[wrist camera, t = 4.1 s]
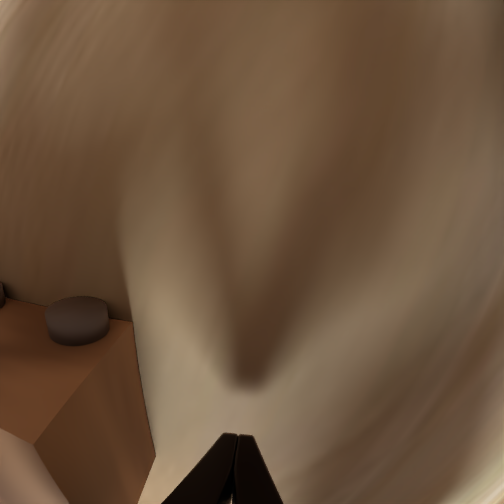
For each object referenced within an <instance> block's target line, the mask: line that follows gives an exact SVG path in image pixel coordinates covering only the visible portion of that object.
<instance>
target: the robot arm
mask: <svg viewBox="0 0 504 504" xmlns="http://www.w3.org/2000/svg"><path fill="white" fill-rule="evenodd" d="M231 499H232V504H283V501H282V499H281V497H280V495H279V493H278V491H277V488H276V486H275V484H274V482H273V480H272V477H271V475H270V473H269V471H268V468H267V466H266V464H265V462H264V459H263V457H262V455H261V452H260V450H259V448H258V445H257V443H256V441H255V438H254V437H253V436H252V435H244V434H240V435H239V436H238V435H237V434H234V433H223V434H222V435H221V436H220V437H219V438H218V440H217V441H216V442H215V443H214V444H213V446H212V447H211V448H210V449H209V450H208V452H207V453H206V454H205V455H204V456H203V458H202V459H201V460H200V461H199V462H198V463H197V465H196V466H195V467H194V468H193V469H192V470H191V471H190V473H189V474H188V475H187V476H186V477H185V478H184V479H183V481H182V482H181V483H180V484H179V485H178V486H177V487H176V488H175V489H174V491H173V492H172V493H171V494H170V495H169V496H168V497H167V498H166V499H165V500H164V501H163V502H162V503H161V504H231Z"/></svg>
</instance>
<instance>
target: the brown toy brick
mask: <svg viewBox="0 0 504 504" xmlns="http://www.w3.org/2000/svg"><path fill="white" fill-rule="evenodd" d="M155 457H156V455H155V451H154V447H153V442H152V438H151V433H150V429H149V424H148V419H147V414H146V409H145V404H144V398H143V393H142V387H141V381H140V375H139V368H138V361H137V354H136V347H135V339H134V331H133V322H129V321H123V320H116V319H110V318H108V311H107V305H106V303H105V302H104V301H102V300H100V299H97V298H94V297H85V296H80V297H70V298H66V299H62V300H59V301H57V302H55V303H53V304H51V305H50V306H49V307H45V306H40V305H36V304H31V303H27V302H22V301H18V300H13V299H9V298H5V296H4V291H3V286H2V283H1V282H0V504H138V501H139V498H140V496H141V493H142V491H143V488H144V485H145V483H146V480H147V478H148V475H149V472H150V470H151V467H152V465H153V462H154V459H155Z"/></svg>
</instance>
